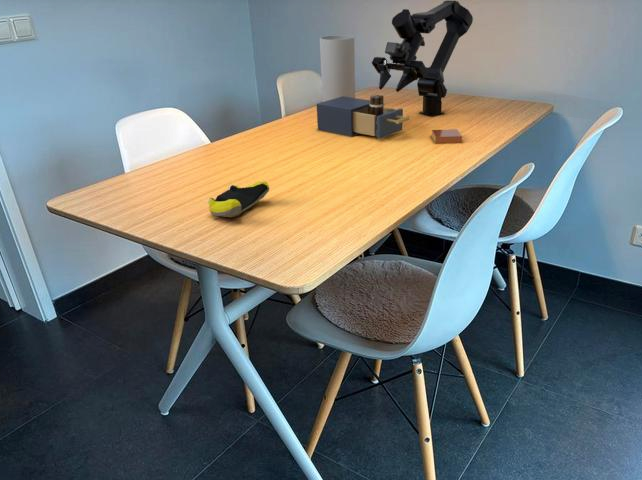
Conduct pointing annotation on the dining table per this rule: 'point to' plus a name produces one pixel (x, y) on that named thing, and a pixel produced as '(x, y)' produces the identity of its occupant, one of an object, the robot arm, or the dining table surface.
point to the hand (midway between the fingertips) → (388, 90)
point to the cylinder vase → (337, 66)
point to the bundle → (376, 106)
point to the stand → (446, 136)
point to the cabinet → (339, 115)
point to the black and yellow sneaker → (237, 199)
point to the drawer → (378, 122)
